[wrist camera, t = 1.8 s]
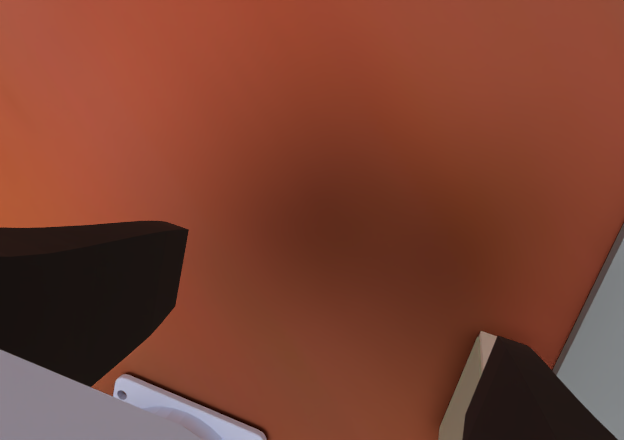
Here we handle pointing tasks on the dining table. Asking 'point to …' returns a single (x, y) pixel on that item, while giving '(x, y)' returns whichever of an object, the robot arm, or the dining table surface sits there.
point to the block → (466, 388)
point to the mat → (599, 346)
